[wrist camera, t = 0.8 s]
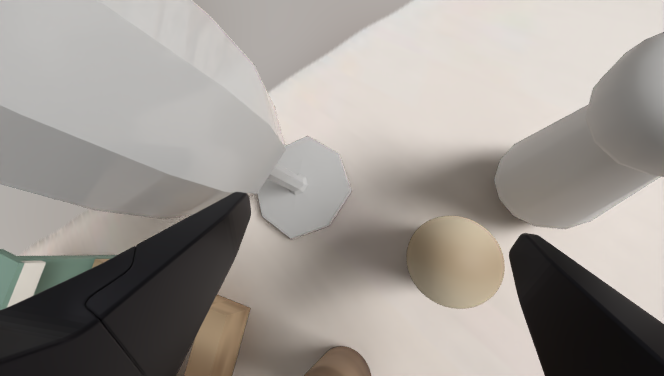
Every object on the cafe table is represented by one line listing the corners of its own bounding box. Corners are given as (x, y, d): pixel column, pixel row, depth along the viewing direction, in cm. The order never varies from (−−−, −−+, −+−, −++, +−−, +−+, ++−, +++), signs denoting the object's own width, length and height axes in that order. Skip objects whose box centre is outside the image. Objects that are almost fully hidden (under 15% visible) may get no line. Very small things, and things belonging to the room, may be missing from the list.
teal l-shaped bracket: (105, 373, 26) (-50, 432, 18) (81, 357, 28) (-75, 405, 19) (144, 259, 28) (19, 263, 19) (119, 250, 29) (-9, 248, 21)
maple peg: (467, 294, 19) (496, 322, 11) (407, 277, 20) (398, 292, 13) (477, 236, 19) (510, 226, 12) (418, 224, 21) (415, 207, 13)
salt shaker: (471, 203, 20) (546, 127, 8) (511, 136, 20) (645, -42, 8) (561, 249, 18) (865, 240, 5) (605, 172, 18) (994, 1, 6)
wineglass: (245, 182, 26) (-260, -15, 7) (314, 122, 25) (-45, -303, 6) (291, 258, 23) (-406, 290, 4) (372, 193, 22) (9, -226, 3)
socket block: (215, 436, 22) (184, 463, 19) (91, 358, 27) (54, 369, 25) (250, 308, 23) (226, 315, 20) (126, 258, 29) (95, 258, 26)
